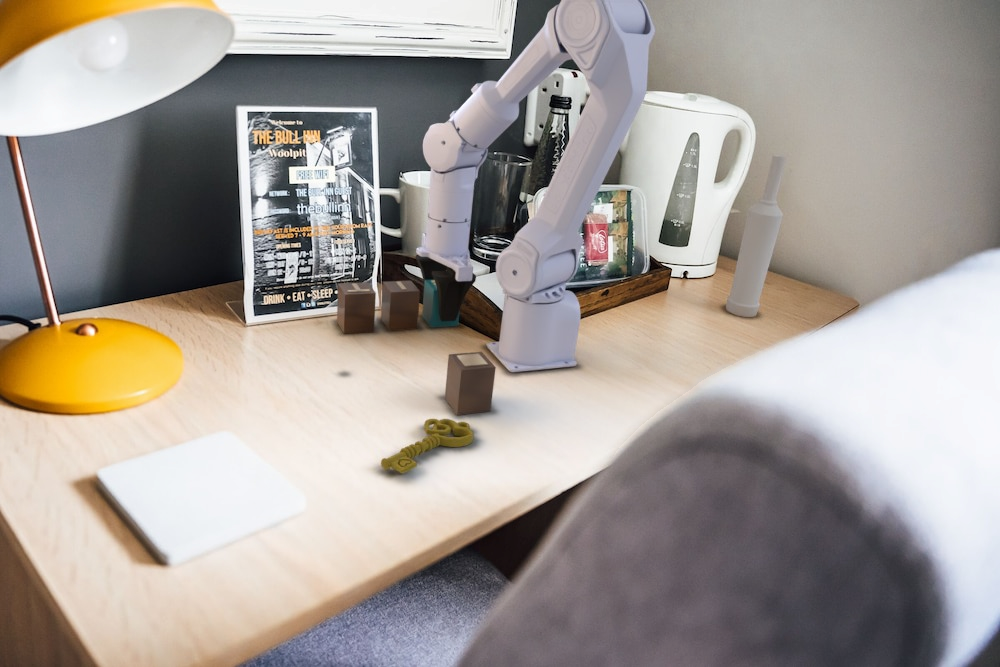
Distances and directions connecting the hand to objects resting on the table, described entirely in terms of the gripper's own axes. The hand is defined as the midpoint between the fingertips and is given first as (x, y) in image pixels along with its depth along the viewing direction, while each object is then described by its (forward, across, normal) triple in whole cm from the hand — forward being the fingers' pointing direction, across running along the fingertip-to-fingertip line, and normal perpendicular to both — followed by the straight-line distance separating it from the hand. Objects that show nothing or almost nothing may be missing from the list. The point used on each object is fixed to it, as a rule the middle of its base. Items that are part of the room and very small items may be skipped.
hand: (441, 312), depth 106 cm
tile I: (+1, 0, -6) cm, 6 cm away
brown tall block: (+1, +23, -5) cm, 24 cm away
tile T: (+1, 0, -12) cm, 12 cm away
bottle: (+2, +4, +50) cm, 50 cm away
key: (+2, +30, -12) cm, 33 cm away
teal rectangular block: (+1, 0, 0) cm, 1 cm away
